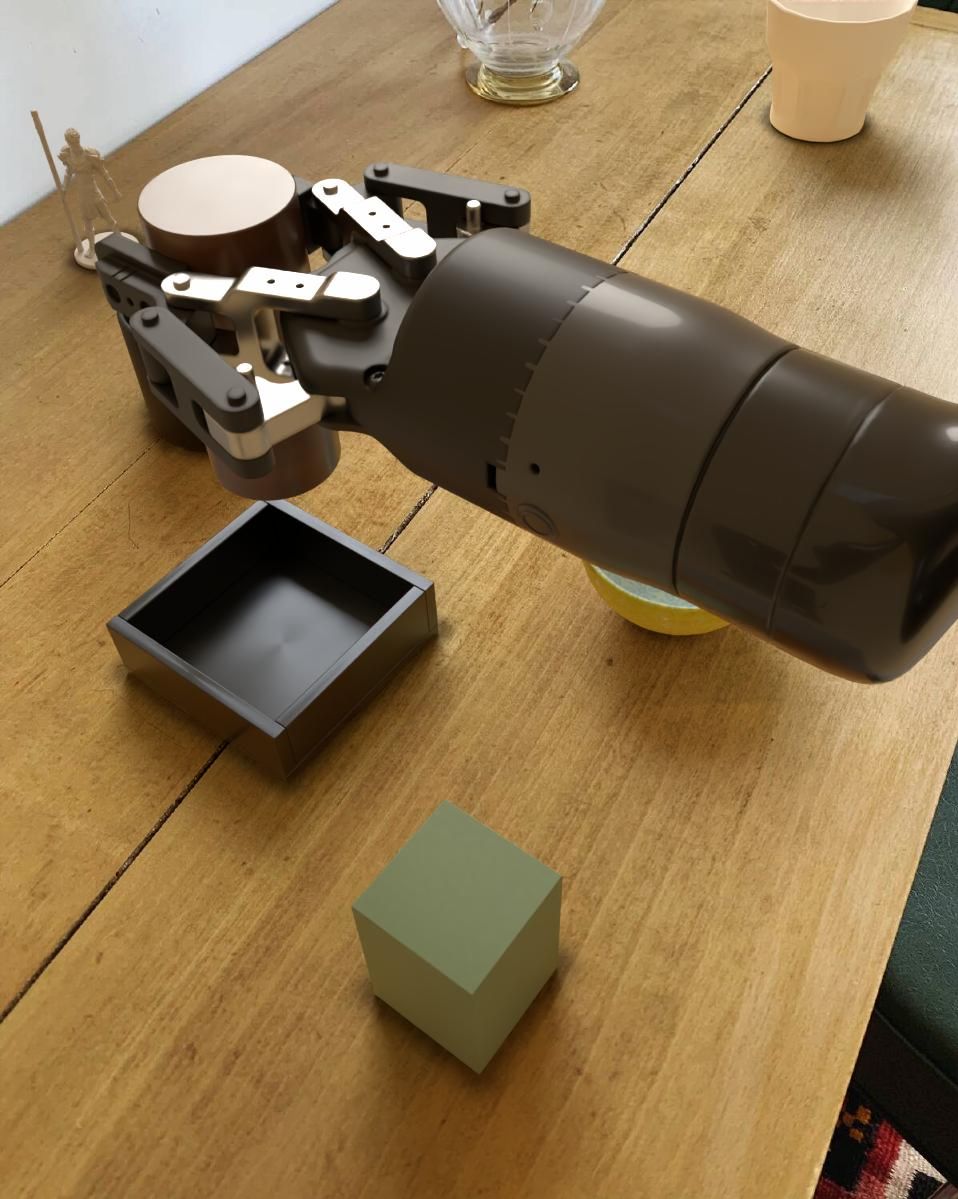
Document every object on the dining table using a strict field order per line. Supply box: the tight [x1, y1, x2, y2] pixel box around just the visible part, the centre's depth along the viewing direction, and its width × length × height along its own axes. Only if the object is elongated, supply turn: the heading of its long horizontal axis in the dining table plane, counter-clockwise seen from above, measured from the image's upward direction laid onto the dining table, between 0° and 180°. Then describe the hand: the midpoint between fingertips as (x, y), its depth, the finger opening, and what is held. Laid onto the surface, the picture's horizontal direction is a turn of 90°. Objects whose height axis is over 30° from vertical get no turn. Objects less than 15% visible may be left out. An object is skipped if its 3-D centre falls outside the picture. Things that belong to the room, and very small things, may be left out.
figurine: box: [30, 108, 140, 271], centre depth 87 cm, size 5×5×12 cm
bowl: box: [581, 559, 731, 636], centre depth 63 cm, size 11×12×6 cm
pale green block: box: [350, 798, 564, 1075], centre depth 47 cm, size 6×6×9 cm
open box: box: [105, 499, 440, 785], centre depth 62 cm, size 13×13×4 cm
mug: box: [116, 311, 207, 452], centre depth 75 cm, size 9×12×9 cm
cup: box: [765, 0, 919, 143], centre depth 98 cm, size 12×12×11 cm
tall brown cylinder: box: [136, 154, 342, 501], centre depth 39 cm, size 5×5×11 cm
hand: (174, 226), depth 37 cm, fingers closed on tall brown cylinder, 5 cm apart
